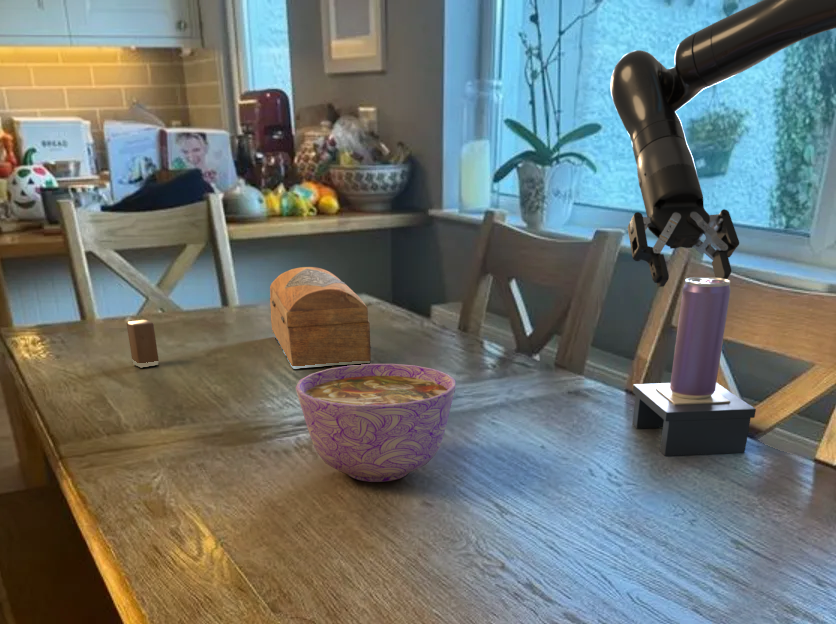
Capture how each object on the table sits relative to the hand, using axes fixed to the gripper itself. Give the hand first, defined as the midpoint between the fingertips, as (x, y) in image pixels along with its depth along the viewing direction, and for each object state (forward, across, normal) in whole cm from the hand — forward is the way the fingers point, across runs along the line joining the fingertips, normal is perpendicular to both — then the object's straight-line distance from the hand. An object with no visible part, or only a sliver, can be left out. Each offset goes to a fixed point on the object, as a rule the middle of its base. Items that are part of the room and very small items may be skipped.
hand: (694, 281), depth 121 cm
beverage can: (+13, 0, +8) cm, 15 cm away
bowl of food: (+20, -44, +9) cm, 50 cm away
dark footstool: (+17, 0, +12) cm, 21 cm away
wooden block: (-26, -79, +56) cm, 100 cm away
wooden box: (-29, -45, +59) cm, 80 cm away
